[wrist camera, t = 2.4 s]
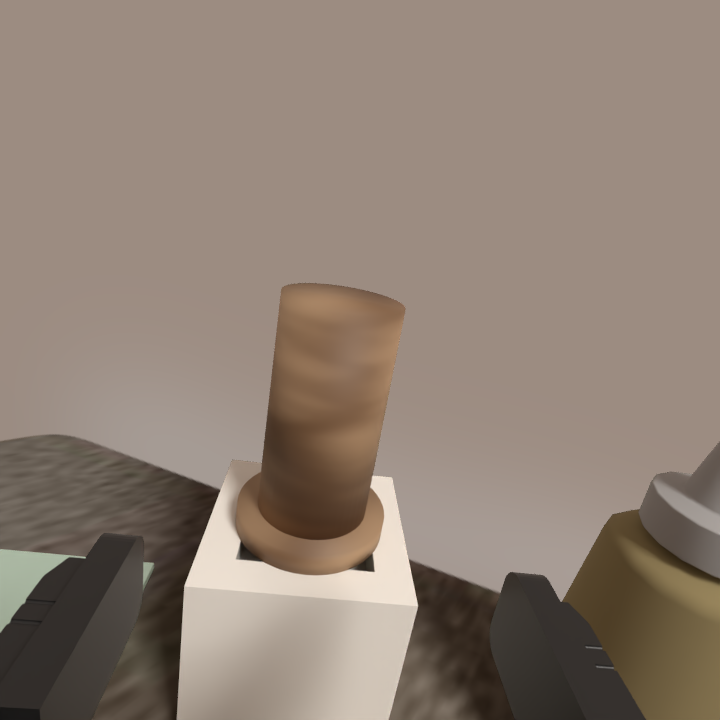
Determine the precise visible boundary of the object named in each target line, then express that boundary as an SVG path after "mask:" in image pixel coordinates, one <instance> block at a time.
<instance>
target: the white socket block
mask: <svg viewBox="0 0 720 720" xmlns="http://www.w3.org/2000/svg"><path fill="white" fill-rule="evenodd" d="M261 468H262V463H257V462H248V461H239V460H232V461H231V464H230V467H229V469H228V472H227V475H226V477H225V480H224V483H223V485H222V488H221V490H220V493H219V496H218V498H217V501H216V504H215V506H214V509H213V512H212V514H211V517H210V520H209V522H208V525H207V528H206V530H205V533H204V535H203V538H202V541H201V543H200V546H199V549H198V551H197V554H196V557H195V559H194V562H193V565H192V567H191V570H190V573H189V575H188V578H187V580H186V583H185V586H184V600H183V618H182V635H181V653H180V671H179V688H178V706H177V720H389V716H390V712H391V709H392V705H393V701H394V697H395V693H396V689H397V685H398V682H399V678H400V674H401V670H402V666H403V662H404V659H405V655H406V651H407V647H408V643H409V639H410V635H411V632H412V628H413V624H414V620H415V616H416V612H417V609H418V603H417V598H416V594H415V589H414V584H413V579H412V574H411V569H410V564H409V559H408V554H407V549H406V545H405V540H404V535H403V531H402V525H401V521H400V515H399V510H398V505H397V500H396V496H395V491H394V486H393V481H392V478H390V477H381V476H372V481H371V486H370V487H371V488H372V489H373V491H374V492H375V493H376V494H377V496H378V497H379V499H380V501H381V503H382V505H383V509H384V521H383V526H382V531H381V535H380V540H379V543H378V546H377V547H376V549H375V551H374V552H373V553H372V555H371V556H370V557H369V558H368V559H366V560H365V561H364V562H363V563H361V564H359V565H358V566H356V567H354V568H351V569H349V570H346V571H343V572H339V573H335V574H329V575H302V574H295V573H291V572H287V571H283V570H280V569H278V568H275V567H273V566H270V565H268V564H266V563H264V562H263V561H261V560H260V559H258V558H257V557H255V556H254V555H253V554H252V553H251V552H250V551H249V550H248V549H247V548H246V547H245V546H244V545H243V543H242V542H241V540H240V538H239V536H238V533H237V530H236V510H237V500H238V495H239V493H240V491H241V489H242V487H243V486H244V484H245V483H246V482H247V481H248V480H249V479H251V478H252V477H253V476H255V475H256V474H258V473H260V472H261Z"/></svg>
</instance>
